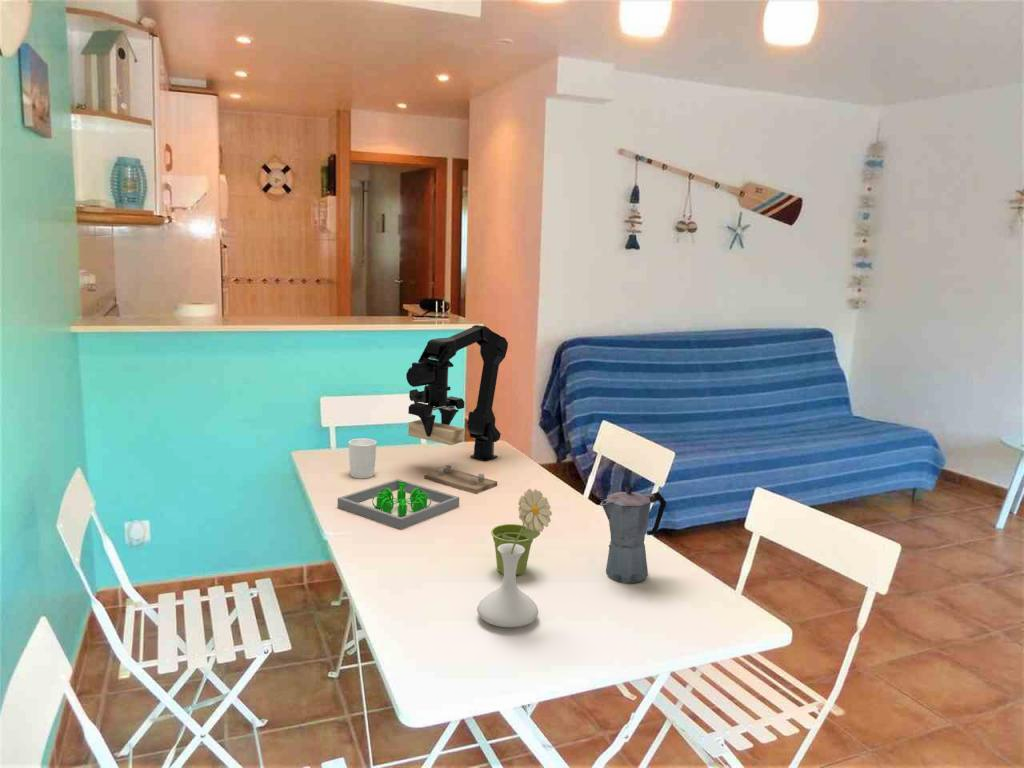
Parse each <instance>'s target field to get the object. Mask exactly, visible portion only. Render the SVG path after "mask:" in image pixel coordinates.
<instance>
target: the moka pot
mask: <svg viewBox="0 0 1024 768" xmlns="http://www.w3.org/2000/svg"><path fill="white" fill-rule="evenodd" d="M624 489H625V491H617V492H614V493H610V494H608V495H607V496H606V498H605V499H603V500H602V501H601V502H600V504H599V505H600V506H601V507H602V509H603V511H604V512H605V515H606V518H607V519H608V525H609V533H610V542H609V544H608V554H607V562H606V568H605V573H607V574H606V576H607V575H608V576H607V577H608V578H609V577H610V578H609V579H611V578H612V579H613V581H615V582H618V583H622V582H624V583H623V584H635V583H639V582H643V581H645V580H646V579H647V577H648V576H649V571H648V561H647V554H646V553H647V552H646V545H645V538H646V536H652V535H655V534H656V535H657V532H658V530H659V527H660V523H661V520H662V517H663V515H664V511H665V508H666V506H667V501H666V499H664V497H663V496H662V494H661V493H660V492H659V491H656V492H653V493H644V494H642V493H639V492H634V491H633V486H631V485H627V486H625V487H624ZM657 501H658V502H659V503H660V504H659V507H658V509H657V516H656V517H655V523H654V525H653V527H652V528H651V529H650V530H647V529H648V523H649V517H650V510H651V505H652V504H654V503H655V502H657ZM612 579H611V580H612Z"/></svg>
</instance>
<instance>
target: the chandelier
mask: <svg viewBox="0 0 1024 768" xmlns="http://www.w3.org/2000/svg"><path fill="white" fill-rule="evenodd" d="M406 482H407V481H406ZM406 482H399V483H398V485H399V486H401V487H400V489H397V492H396V493H397V495H396V496H397V498H396V497H394V494H393V491H391V490H390V489H389V488H384V489H386V490H385V491H384V492H383V490H384V489H382V491H381V493H378V494H376V495H379V496H376V495H375V496H376V497H377V498H376V505H375V503H374V499H375V496H374V497H373V498H372V505H373V508H375V509H380V511H383V512H386V513H389V514H391V512H392V511H393V509H394V506H395V505H397V504H398V505H397V514H398V515H399V516H400V517H403V516H406V515H407V512H408V505H407V504H409V505H410V508H411V510H412V513H414V512H417V511H419V510H422V509H425V508H427V507H430V506H431V504H432V500H431V497H430V496H429V495H428V494H426V493H422V490H421V489H419V488H415V489H414V490H413V491H412V492H411V493H410V496H409V498H407V497H406V496H407V495H406V493H407V492H405V489H403V486H406V485H407V483H406ZM418 489H419V490H420V491H418ZM382 492H383V493H382ZM425 494H426V495H428V496H429V497H430V499H429V501H430V502H429V504H428V498H427V496H425Z"/></svg>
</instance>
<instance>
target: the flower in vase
mask: <svg viewBox="0 0 1024 768" xmlns="http://www.w3.org/2000/svg"><path fill="white" fill-rule="evenodd" d="M523 494H524V495H521V496H520V497H519V498H518V499H519V500H518V505H519V506H518V508H517V510H518V513H519V515H518V519H520V520H521V522H522V525H523V526H522V528H521V531H520V533H519V535H518V537H517V539H516V538H513V537H509V536H507V535H505V534H502V537H503V538H506V539H510V540H513V541H515V542H514V544H511V543H508V544H502V545H500V546H498V551H499V552H500V554H501V556H502V559H503V564H504V574H503V580H502V583H501V585H500V586H499V587H498V588H496V589H495V590H493V591H491V592H490V593H488V594H487V595H486V596H484V597H483V598H482V599H481V600H480V601H479V603H478V605H477V608H476V611H477V614H478V615H479V617H480V618H481V619H482V620H483V621H485V622H486V623H487V624H490V625H493V626H495V627H496V626H497V627H501V628H520V627H523V626H527V625H529V624H531V623H532V622H534V621H535V619H537V617H538V615H539V609H538V606H537V604H536V602H535V601H534V600H533V599H532V598H531V597H530V596H529V595H527V594H526V593H525V592H523V591H522V590H521V589H520V588H519V587H518V586H517V579H516V576H517V574H516V569H517V564H518V560H519V558H520V556H521V555H522V554H523V553H524V551H525V548H524V547H522V546H521V545H518V544H516V543H517V541H518V539H519V537H520V535H521V533H523V535H524V536H525V537H526V538H527V539H529V540H532V539H533V540H534V539H536V538H537V537H539V536H540V535H541V532H543V530H544V529H545V527H549V523H551V516H553V515H552V514H553V513H552V511H551V505H550V503H549V502H548V498H547V497H545V496H544V495H543V492H541V490H538V489H536V488H535V489H533V490H532V489H531V488H527V490H526V491H524V493H523ZM524 526H525V527H526V528H525V529H524V530H523V528H524Z"/></svg>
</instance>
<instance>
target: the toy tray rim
mask: <svg viewBox="0 0 1024 768" xmlns="http://www.w3.org/2000/svg"><path fill="white" fill-rule="evenodd" d="M399 482H406V483H407V485H406V486H403V489H405V492H406V493H409V494H411V492H412V491H413V490H414V489H415V488H419V489H421V490H422V493H426V494H428V495H429V496H430V497H431V501H435V502H438V503H436V504H432V505H430V506H429V507H427V506H426V507H427V508H425V507H424V509H423V508H422V510H419V511H417V512H411V513H408V514H406V515H403V517H401V516H398V515H395V514H392V513H386V512H383V510H382V511H381V510H379V509H378V508H375V507H372V506H368V505H365V504H363V503H360V502H363V501H365V500H366V501H367V500H369V499H370V500H371V499H373V497H374V496H375V495H376V494H378V493H381V491H382V489H384V488H389V489H390V490H391V491H392V492H393V491H396V490H397V491H398V489H400V487H401V486H399V485H398V483H399ZM419 489H418V491H420V490H419ZM385 490H386V489H384V490H383V492H384V491H385ZM383 492H382V493H383ZM426 494H425V496H427V500H428V499H429V500H430V497H429V496H428V495H426ZM377 496H379V495H376V496H375V497H377ZM375 497H374V498H375ZM458 507H460V496H456V495H453V494H450V493H447V492H443V491H440V490H437V489H433V488H431V487H425V486H424V485H423V486H422V485H420V484H418V483H417V484H416V483H414V482H413V483H412V482H409V481H406V480H403V479H399V478H396V479H393V480H390V481H387V482H383V483H381V484H378V485H374V486H371V487H369V488H364V489H362V490H359V491H356V492H352V493H350V494H346V495H343V496H339V497H337V509H341V510H344V511H346V512H348V513H353V514H355V515H358V516H361V517H364V518H367V519H369V520H372V521H375V522H379V523H382V524H384V525H387V526H389V527H390V526H391V527H393V528H395V529H398V530H403V529H405V528H409V527H410V526H413V525H416V524H418V523H421V522H423V521H426V520H428V519H431V518H434V517H436V516H438V515H441V514H444V513H446V512H449V511H451V510H453V509H456V508H458Z"/></svg>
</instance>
